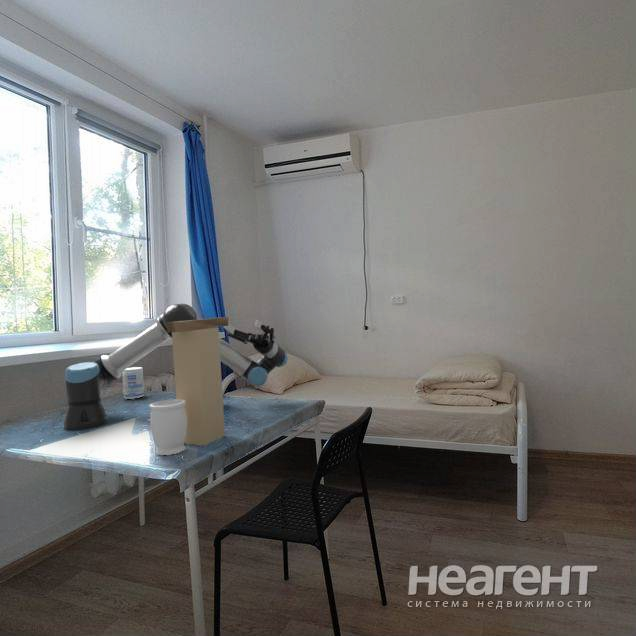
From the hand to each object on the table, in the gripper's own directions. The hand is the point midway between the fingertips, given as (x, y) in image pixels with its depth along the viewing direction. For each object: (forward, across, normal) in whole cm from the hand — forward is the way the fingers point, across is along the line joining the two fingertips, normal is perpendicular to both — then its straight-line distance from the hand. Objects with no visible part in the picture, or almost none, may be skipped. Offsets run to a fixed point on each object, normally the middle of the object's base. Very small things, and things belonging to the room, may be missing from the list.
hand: (240, 323), depth 179 cm
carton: (+6, 0, +45) cm, 45 cm away
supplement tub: (-40, -79, +18) cm, 90 cm away
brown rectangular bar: (+21, 0, +12) cm, 25 cm away
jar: (+17, -3, +51) cm, 54 cm away
